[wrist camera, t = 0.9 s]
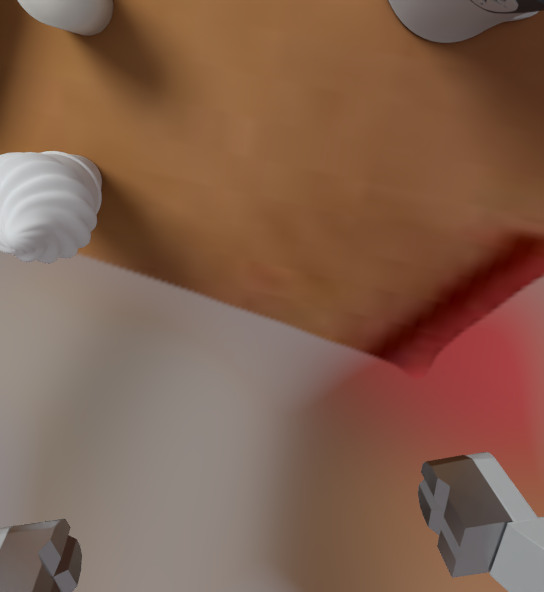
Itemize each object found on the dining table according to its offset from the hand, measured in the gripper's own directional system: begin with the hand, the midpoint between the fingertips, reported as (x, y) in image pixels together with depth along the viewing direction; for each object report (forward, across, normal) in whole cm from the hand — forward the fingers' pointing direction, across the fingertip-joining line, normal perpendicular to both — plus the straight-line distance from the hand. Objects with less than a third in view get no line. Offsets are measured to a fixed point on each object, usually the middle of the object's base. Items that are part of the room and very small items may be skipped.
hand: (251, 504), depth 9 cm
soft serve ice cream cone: (+37, +14, 0) cm, 39 cm away
